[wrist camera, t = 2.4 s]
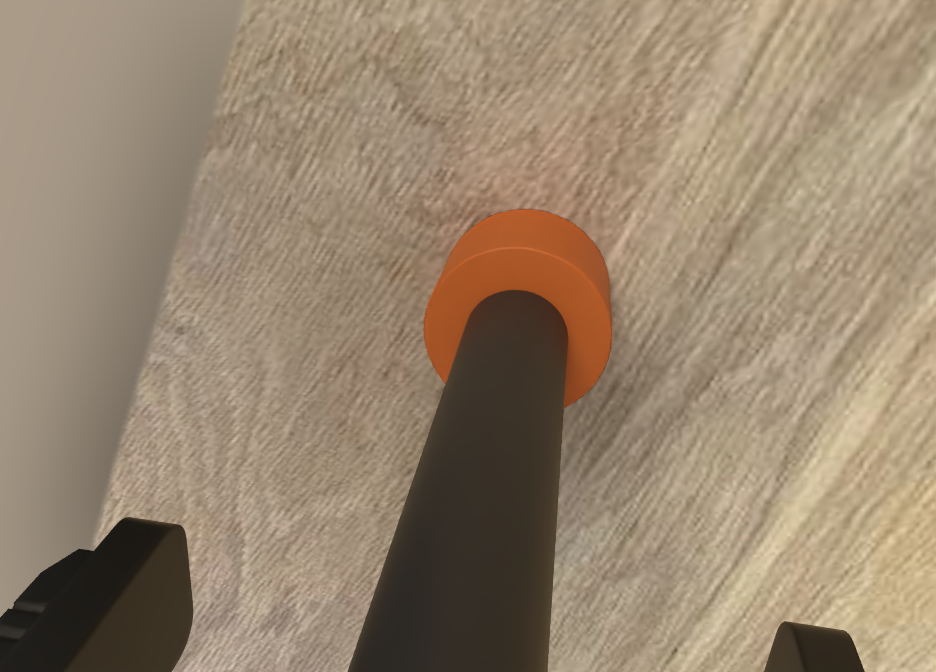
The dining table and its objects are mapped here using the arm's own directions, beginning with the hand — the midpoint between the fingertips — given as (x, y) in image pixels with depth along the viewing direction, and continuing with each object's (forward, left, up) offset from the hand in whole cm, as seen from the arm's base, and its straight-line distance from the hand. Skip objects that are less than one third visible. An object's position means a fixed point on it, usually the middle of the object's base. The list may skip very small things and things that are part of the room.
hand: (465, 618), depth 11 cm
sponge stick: (0, 0, -12) cm, 12 cm away
